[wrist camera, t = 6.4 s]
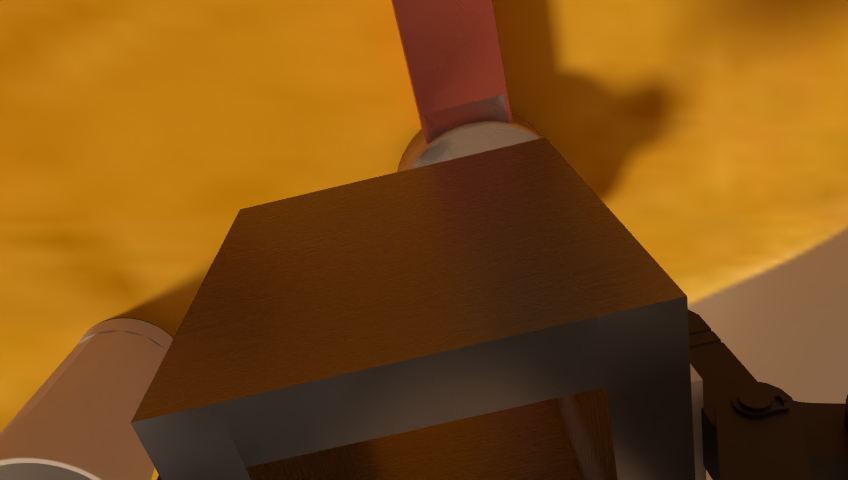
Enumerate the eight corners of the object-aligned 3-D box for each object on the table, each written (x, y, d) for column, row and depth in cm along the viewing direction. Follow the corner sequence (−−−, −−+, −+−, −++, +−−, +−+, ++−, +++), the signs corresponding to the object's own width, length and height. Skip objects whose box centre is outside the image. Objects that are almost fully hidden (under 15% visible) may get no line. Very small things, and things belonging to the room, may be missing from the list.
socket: (240, 209, 16) (130, 422, 9) (544, 137, 16) (686, 295, 9) (328, 440, 20) (300, 729, 12) (580, 383, 19) (703, 645, 12)
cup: (186, 303, 37) (114, 451, 27) (207, 407, 41) (151, 576, 30) (47, 309, 37) (-84, 464, 26) (80, 415, 40) (-23, 590, 30)
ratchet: (300, -160, 28) (275, -196, 20) (498, -212, 28) (549, -268, 20) (416, 270, 38) (429, 355, 30) (562, 235, 38) (612, 311, 30)
